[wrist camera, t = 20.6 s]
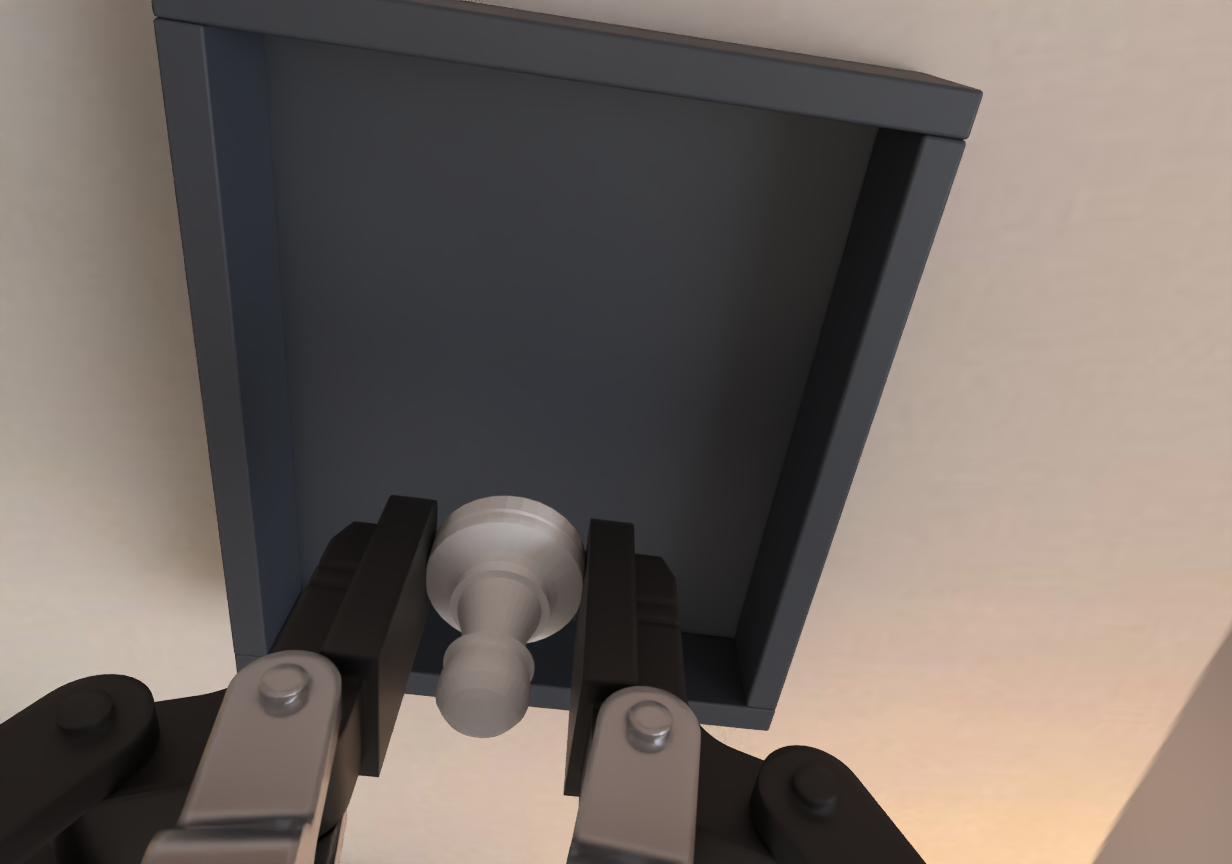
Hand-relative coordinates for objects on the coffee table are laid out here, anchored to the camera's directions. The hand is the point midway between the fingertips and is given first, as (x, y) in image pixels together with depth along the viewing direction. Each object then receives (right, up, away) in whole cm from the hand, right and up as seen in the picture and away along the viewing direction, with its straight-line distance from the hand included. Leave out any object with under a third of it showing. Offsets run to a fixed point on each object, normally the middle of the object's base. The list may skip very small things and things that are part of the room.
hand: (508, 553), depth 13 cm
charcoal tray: (0, +3, +6) cm, 7 cm away
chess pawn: (0, 0, 0) cm, 0 cm away
